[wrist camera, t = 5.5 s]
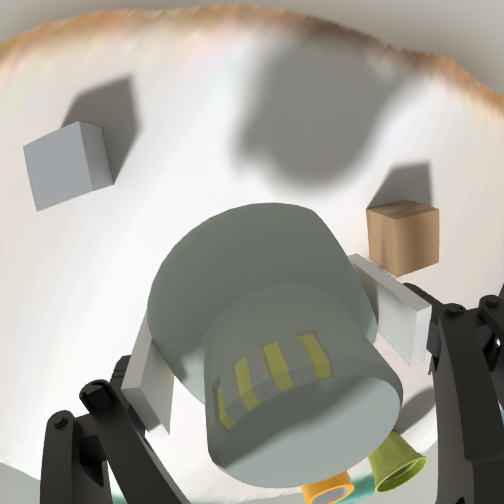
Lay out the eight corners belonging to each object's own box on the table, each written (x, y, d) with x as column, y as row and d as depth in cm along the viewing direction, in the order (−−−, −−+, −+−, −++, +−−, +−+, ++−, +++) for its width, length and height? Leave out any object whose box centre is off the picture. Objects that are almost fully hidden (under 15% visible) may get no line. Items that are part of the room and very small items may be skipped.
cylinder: (306, 324, 29) (376, 438, 15) (350, 375, 32) (411, 468, 18) (213, 390, 30) (227, 512, 15) (269, 429, 33) (299, 528, 19)
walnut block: (406, 200, 27) (438, 209, 22) (408, 247, 28) (438, 262, 24) (365, 208, 26) (395, 219, 22) (369, 258, 28) (397, 277, 23)
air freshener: (356, 324, 18) (448, 434, 8) (246, 389, 18) (276, 524, 9) (272, 168, 14) (387, 183, 5) (136, 257, 15) (55, 388, 5)
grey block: (101, 127, 21) (78, 120, 16) (114, 184, 22) (93, 190, 17) (52, 147, 20) (23, 146, 15) (64, 201, 22) (37, 211, 17)
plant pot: (351, 444, 38) (372, 484, 29) (403, 414, 38) (429, 450, 30) (360, 463, 41) (378, 498, 33) (405, 437, 41) (427, 469, 33)
